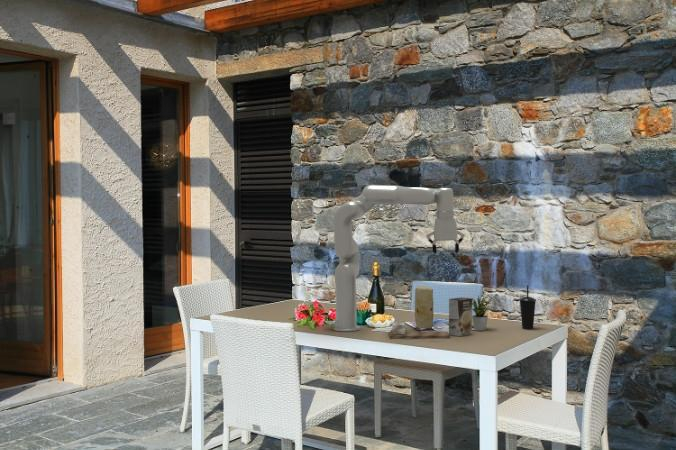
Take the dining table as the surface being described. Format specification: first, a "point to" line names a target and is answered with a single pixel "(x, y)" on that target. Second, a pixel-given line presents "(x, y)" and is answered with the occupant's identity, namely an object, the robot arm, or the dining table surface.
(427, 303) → the food model
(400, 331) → the bead
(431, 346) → the dining table surface
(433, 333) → the board
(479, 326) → the house plant
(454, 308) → the coffee box
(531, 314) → the drinking cup
